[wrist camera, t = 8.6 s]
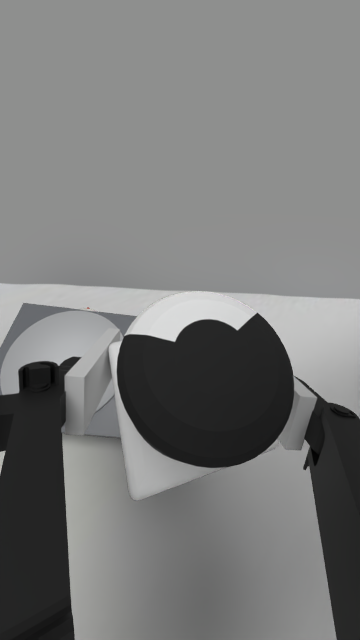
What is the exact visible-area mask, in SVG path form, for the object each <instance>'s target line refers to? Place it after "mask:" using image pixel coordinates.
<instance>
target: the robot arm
mask: <svg viewBox="0 0 360 640" xmlns="http://www.w3.org/2000/svg"><path fill="white" fill-rule="evenodd" d="M119 341H120V329H114V328H108V330H107V331H106V332H105V333H104V334H103V335H102V336H101V337H100V338H99V339H98V340H97V341H96V342H95V344H94V345H93V346H92V347H91V348H90V349H89V350H88V351H87V352H86V353H85V354H84V355H83V356H82V357H74V356H73V357H71V358H68V359H66V360H64V361H63V362H62V363H61V364H60V366H58V364H57V363H54V362H50V361H38V362H32V363H29V364H26V365H24V366H22V367H21V368H20V369H19V370H18V376H19V393H15V394H7V395H0V451H6V452H5V456H4V461H3V465H2V470H1V474H0V640H75V639H74V625H73V616H72V610H71V595H70V577H69V559H68V540H67V522H66V504H65V485H64V467H63V449H62V430H61V428H62V427H63V425H64V423H65V434H68V435H84V433H85V431H86V429H87V427H88V425H89V423H90V421H91V419H92V417H93V415H94V413H95V411H96V409H97V407H98V405H99V403H100V401H101V399H102V397H103V395H104V393H105V391H106V389H107V387H108V385H109V383H110V381H111V379H112V373H111V366H110V359H109V352H108V349H109V346H110V344H112V343H114V342H119ZM293 378H294V399H293V406H292V410H291V413H290V416H289V419H288V421H287V423H286V425H285V427H284V429H283V431H282V433H281V434H280V435H279V437H278V439H279V440H280V442H281V443H282V445H283V447H284V448H285V449H288V450H301V449H302V446H303V443H304V439H305V440H306V441H307V442H308V444H309V445H310V448H309V451H308V454H307V457H306V460H305V464H304V467H303V469H304V470H306V469H307V467H308V466H309V467H310V473H311V479H312V486H313V492H314V498H315V505H316V511H317V517H318V524H319V530H320V536H321V543H322V549H323V555H324V562H325V568H326V574H327V581H328V587H329V593H330V600H331V606H332V612H333V619H334V625H335V631H336V638H337V640H360V419H359V417H358V416H357V415H356V414H355V413H354V412H352V411H351V410H349V409H347V408H345V407H343V406H340V405H338V404H334V403H327V402H326V401H325V400H324V399H323V398H322V397H321V396H319V395H318V394H317V393H316V392H314V390H313V389H312V388H309V386H308V385H307V384H306V383H305V382H304V381H302V380H300V379H299V378H297V377H295V376H293Z"/></svg>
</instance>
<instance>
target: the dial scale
mask: <svg viewBox="0 0 360 640" xmlns="http://www.w3.org/2000/svg"><path fill="white" fill-rule="evenodd" d="M136 317H137V316H130V315H121V314H113V313H104V312H98V311H95V310H92V309H90V308H88V307H87V309H86V308H84V309H70V308H62V307H53V306H45V305H36V304H28V303H23V305H22V307H21V309H20V311H19V313H18V315H17V317H16V319H15V320H14V322H13V324H12V326H11V328H10V330H9V332H8V334H7V336H6V338H5V340H4V342H3V344H2V346H1V347H0V395H7V394H15V393H19V376H18V370H19V369H20V368H21V367H22V366H24V365H26V364H29V363H32V362H38V361H50V362H54V363H57V364H58V366H60V364H61V363H62V362H63V361H64V360H66V359H68V358H71V357H73V356H74V357H82V356H83V355H84V354H85V353H86V352H87V351H88V350H89V349H90V348H91V347H92V346H93V345H94V344H95V342H96V341H97V340H98V339H99V338H100V337H101V336H102V335H103V334H104V333H105V332H106V331H107V330H108V328H114V329H120V341H122V340H123V338H124V335H125V334H126V332H127V330H128V328H129V326H130V325H131V324H132V322H133V321H134V320H135V319H136ZM61 430H62V433H64V434H65V423H64V425H63V427H62V428H61ZM84 435H88V436H99V437H111V438H121V435H120V428H119V422H118V415H117V408H116V401H115V394H114V387H113V380H112V379H111V381H110V383H109V385H108V387H107V389H106V391H105V393H104V395H103V397H102V399H101V401H100V403H99V405H98V407H97V409H96V411H95V413H94V415H93V417H92V419H91V421H90V423H89V425H88V427H87V429H86V431H85V433H84Z"/></svg>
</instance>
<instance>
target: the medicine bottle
mask: <svg viewBox="0 0 360 640" xmlns="http://www.w3.org/2000/svg"><path fill="white" fill-rule="evenodd" d="M108 352H109V359H110V366H111V373H112V380H113V387H114V394H115V401H116V408H117V415H118V422H119V428H120V435H121V442H122V449H123V456H124V463H125V470H126V477H127V484H128V491H129V494H130V497H131V498H132V499H133V500H135V501H136V500H142V499H144V498H147V497H150V496H152V495H155V494H158V493H160V492H163V491H166V490H168V489H171V488H173V487H176V486H179V485H181V484H184V483H187V482H189V481H192V480H194V479H197V478H200V477H202V476H205V475H208V474H210V473H213V472H215V471H218V470H221V469H223V468H226V467H230V466H234V465H239V464H242V463H244V462H247V461H249V460H251V459H253V458H255V457H257V456H258V455H260V454H263V453H265V452H268V451H271V450H273V449H275V448H276V447H277V446H278V444H279V440H278V437H279V435H280V434H281V433H282V431H283V429H284V427H285V425H286V423H287V421H288V419H289V416H290V413H291V410H292V406H293V399H294V378H293V370H292V367H291V363H290V359H289V357H288V354H287V352H286V349H285V347H284V345H283V344H282V342H281V340H280V338H279V336H278V335H277V334H276V332H275V331H274V329H273V328H272V327H271V326H270V324H269V323H268V322H267V321H266V320H265V319H264V318H263V317H262V316H261V315H259V314H258V313H257V312H256V311H255V310H253V309H252V308H250V307H249V306H247V305H246V304H244V303H242V302H240V301H238V300H236V299H234V298H231V297H229V296H225V295H222V294H218V293H213V292H204V291H190V292H183V293H178V294H174V295H170V296H168V297H165V298H162V299H160V300H158V301H157V302H155V303H153V304H151V305H150V306H149V307H147V308H146V309H145V310H143V311H142V312H141V313H140V314H139V315H138V316H137V317H136V319H135V320H134V321H133V322H132V324H131V325H130V326H129V328H128V330H127V332H126V334H125V335H124V338H123V340H122V341H119V342H114V343H112V344H110V346H109V349H108Z"/></svg>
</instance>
